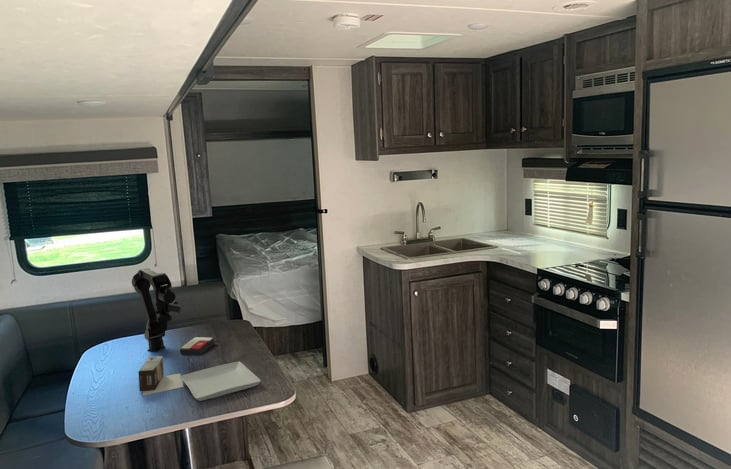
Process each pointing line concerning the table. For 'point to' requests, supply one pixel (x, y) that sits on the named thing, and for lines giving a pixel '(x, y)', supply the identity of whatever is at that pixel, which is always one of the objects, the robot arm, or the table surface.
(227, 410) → the table surface
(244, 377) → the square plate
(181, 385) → the mat
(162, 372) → the coffee box
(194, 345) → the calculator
